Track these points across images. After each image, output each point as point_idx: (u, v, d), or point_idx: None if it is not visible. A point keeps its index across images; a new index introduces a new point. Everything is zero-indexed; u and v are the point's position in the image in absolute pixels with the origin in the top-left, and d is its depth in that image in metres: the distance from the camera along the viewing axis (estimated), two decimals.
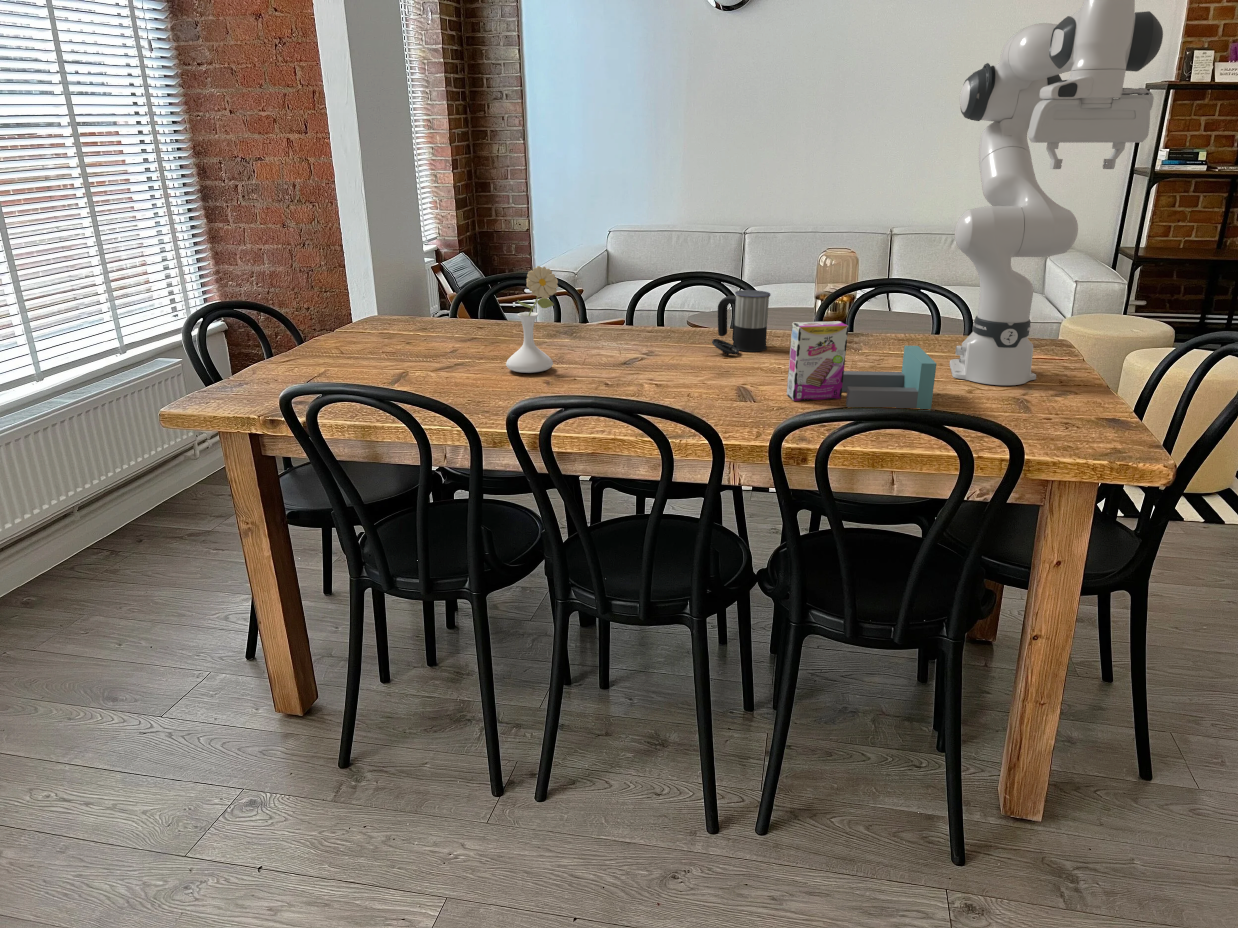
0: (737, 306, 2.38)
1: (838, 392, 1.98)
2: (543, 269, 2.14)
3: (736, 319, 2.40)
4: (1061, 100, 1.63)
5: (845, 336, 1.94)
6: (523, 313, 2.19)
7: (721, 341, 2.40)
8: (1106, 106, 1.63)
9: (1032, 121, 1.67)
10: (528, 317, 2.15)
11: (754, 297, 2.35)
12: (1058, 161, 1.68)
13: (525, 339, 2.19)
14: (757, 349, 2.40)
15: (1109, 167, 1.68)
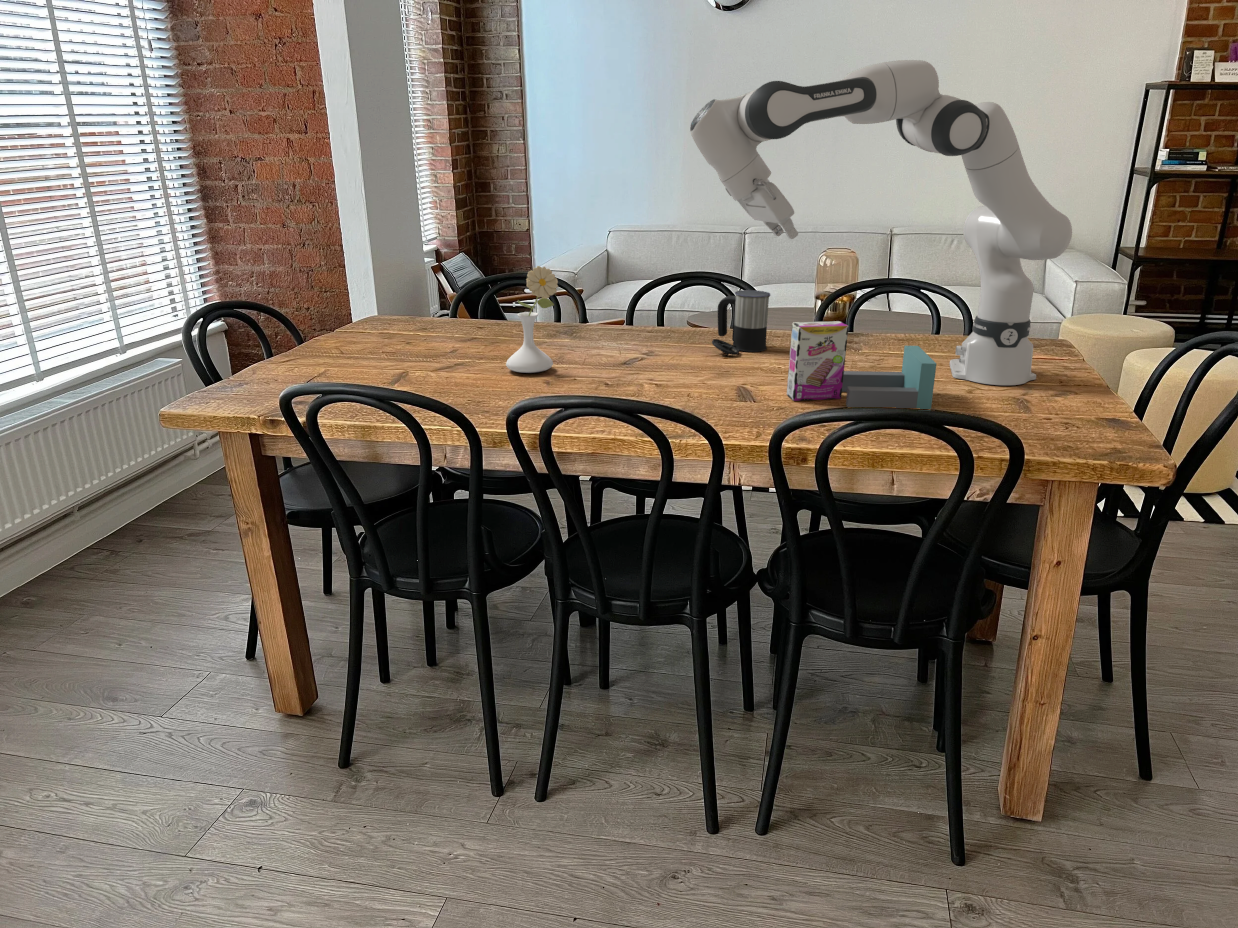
0: (737, 306, 2.38)
1: (838, 392, 1.98)
2: (543, 269, 2.14)
3: (736, 319, 2.40)
4: None
5: (845, 336, 1.94)
6: (523, 313, 2.19)
7: (721, 341, 2.39)
8: (747, 201, 1.81)
9: None
10: (528, 317, 2.15)
11: (754, 297, 2.35)
12: (773, 231, 1.90)
13: (525, 339, 2.19)
14: (757, 349, 2.40)
15: (790, 237, 1.81)
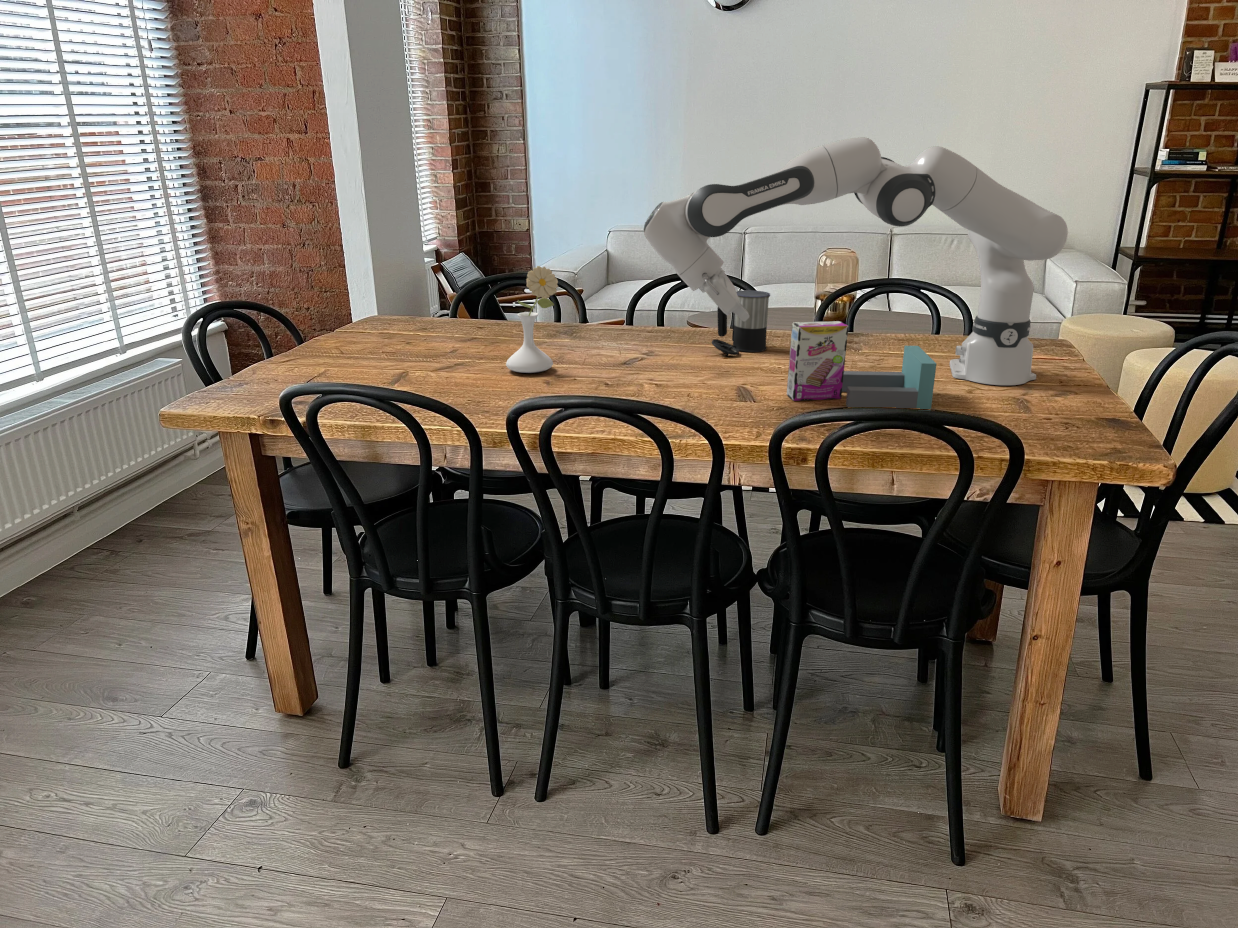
0: None
1: (838, 392, 1.98)
2: (543, 269, 2.14)
3: (736, 319, 2.40)
4: None
5: (845, 336, 1.94)
6: (523, 313, 2.19)
7: (721, 341, 2.39)
8: (703, 291, 1.93)
9: None
10: (528, 317, 2.15)
11: (754, 297, 2.34)
12: None
13: (525, 339, 2.19)
14: (756, 350, 2.39)
15: None
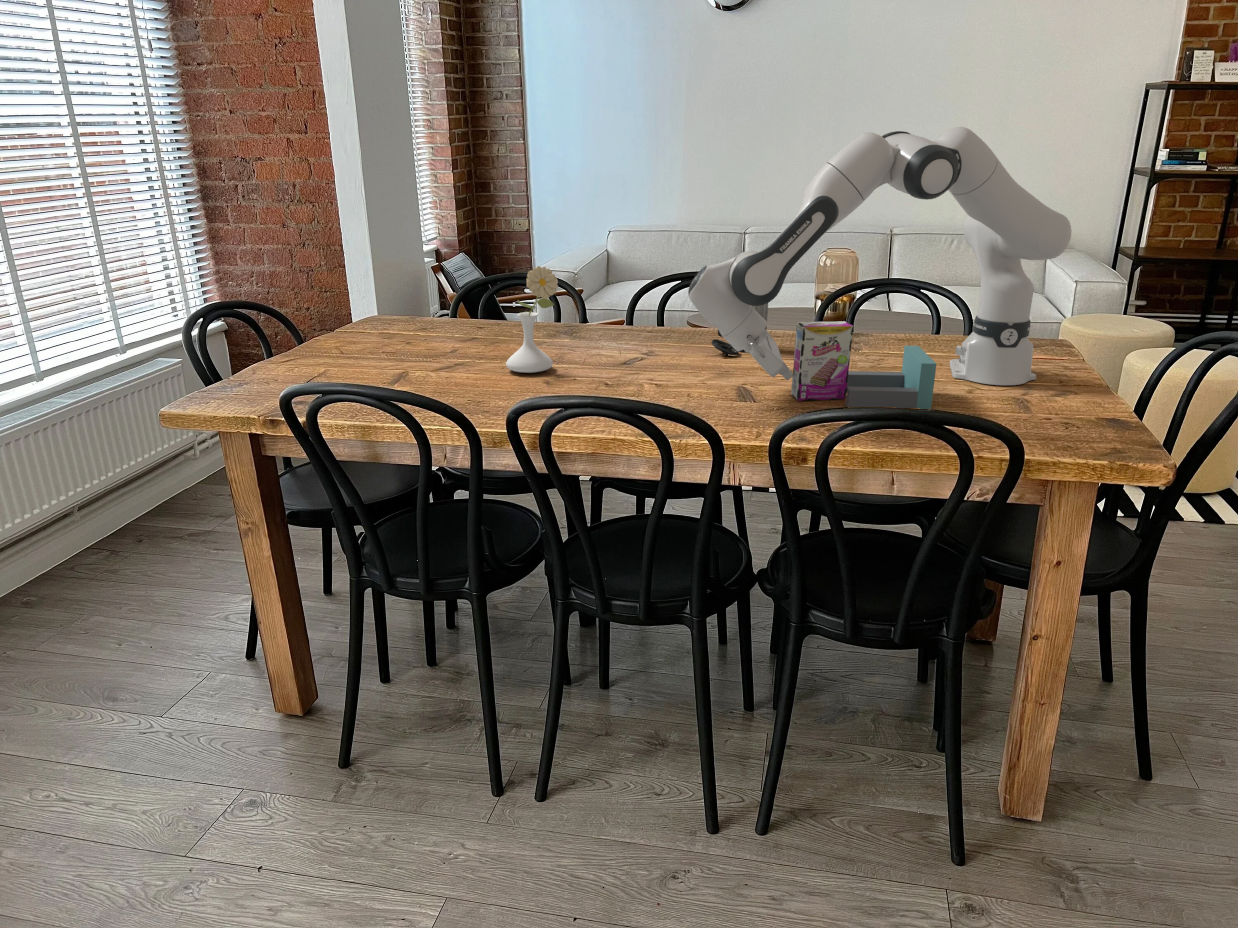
0: None
1: (843, 392, 1.98)
2: (543, 269, 2.14)
3: None
4: None
5: (850, 336, 1.94)
6: (523, 313, 2.19)
7: (721, 341, 2.39)
8: (747, 352, 1.96)
9: None
10: (528, 317, 2.15)
11: None
12: None
13: (525, 339, 2.19)
14: None
15: None
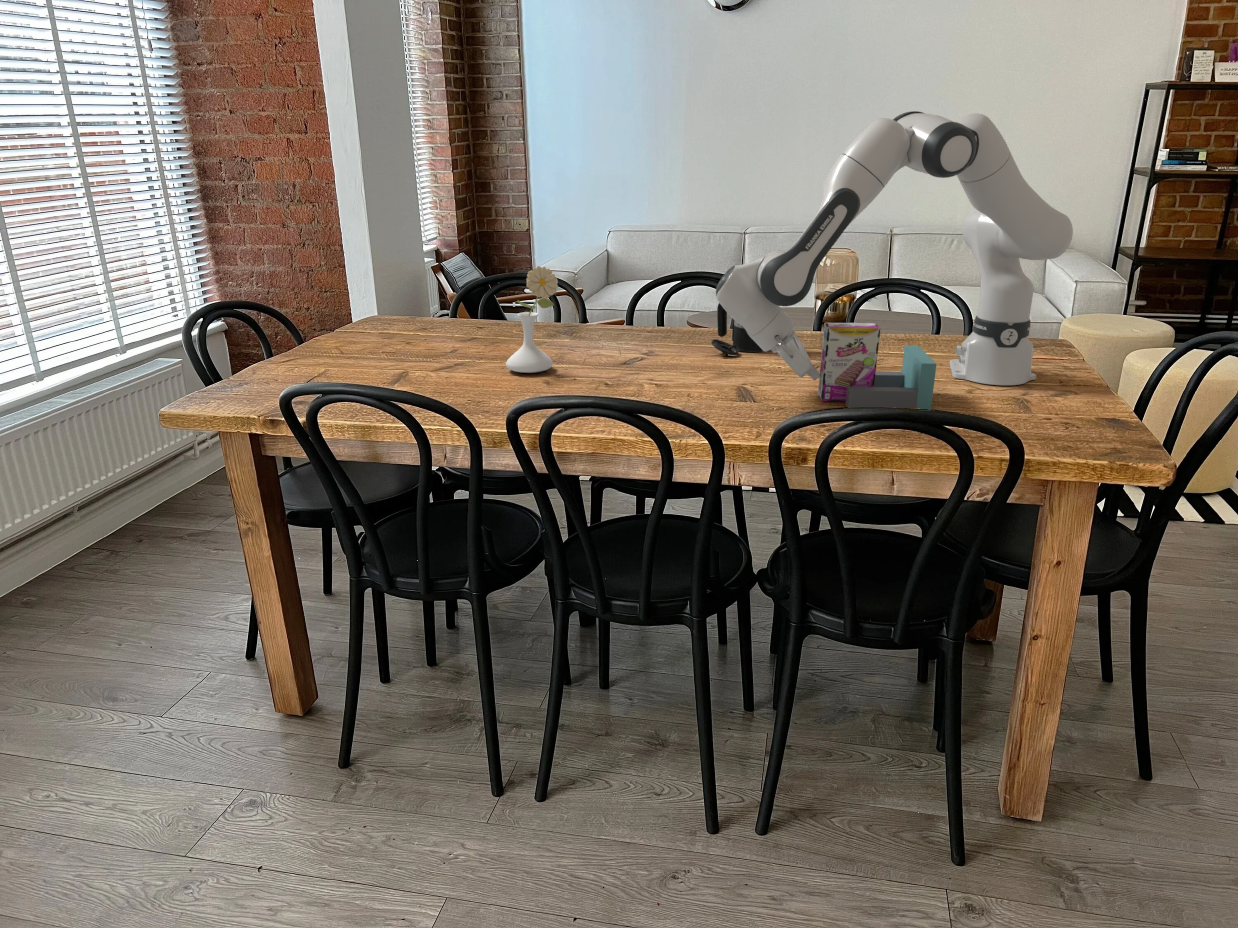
0: None
1: None
2: (543, 269, 2.14)
3: None
4: None
5: (877, 338, 1.91)
6: (523, 313, 2.19)
7: (720, 342, 2.39)
8: (774, 352, 1.96)
9: None
10: (528, 317, 2.15)
11: None
12: None
13: (525, 339, 2.19)
14: (756, 350, 2.39)
15: None
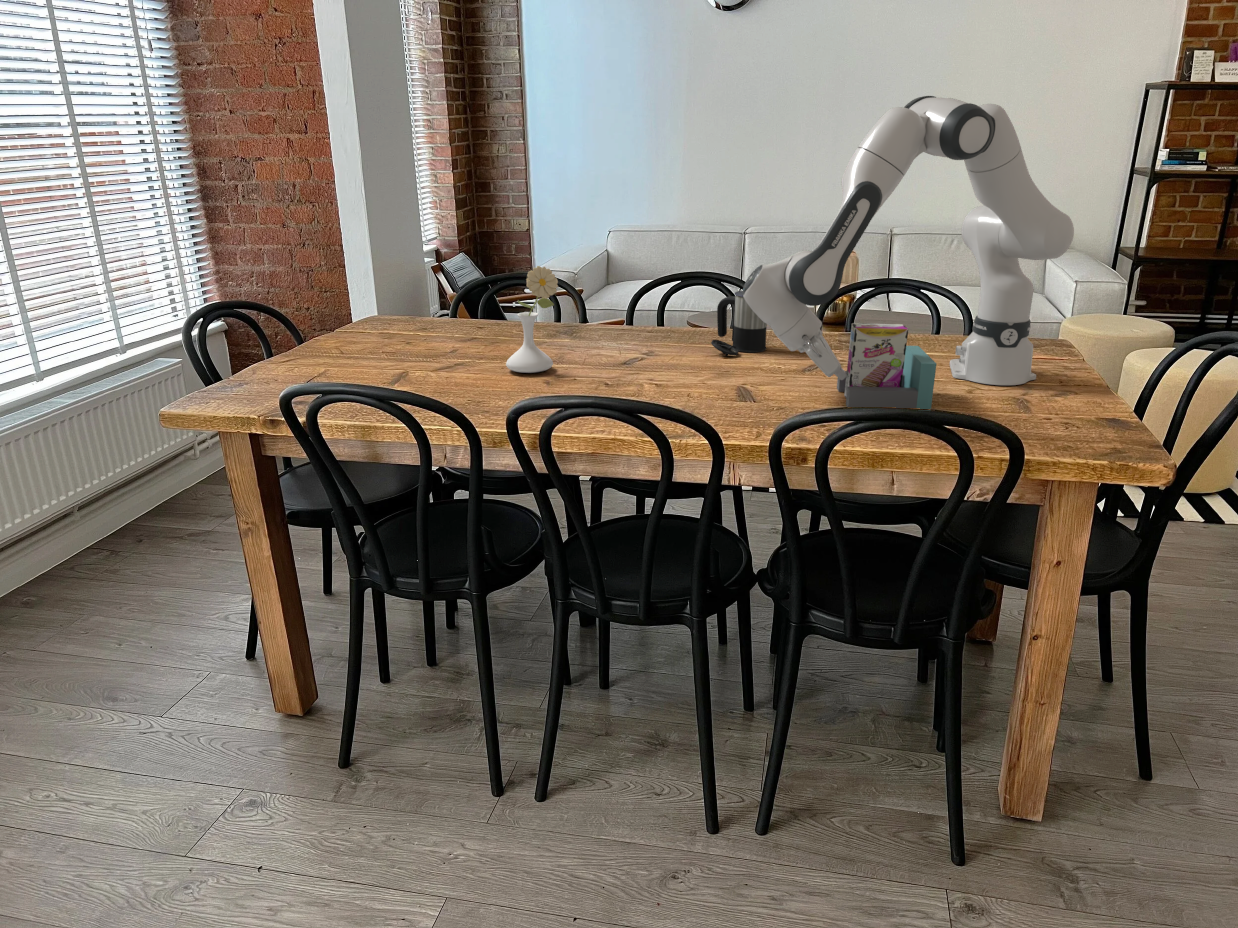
0: (736, 307, 2.38)
1: None
2: (543, 269, 2.14)
3: (735, 320, 2.39)
4: None
5: (904, 339, 1.91)
6: (523, 313, 2.19)
7: (720, 342, 2.39)
8: (801, 352, 1.95)
9: None
10: (528, 317, 2.15)
11: None
12: None
13: (525, 339, 2.19)
14: (756, 350, 2.39)
15: None
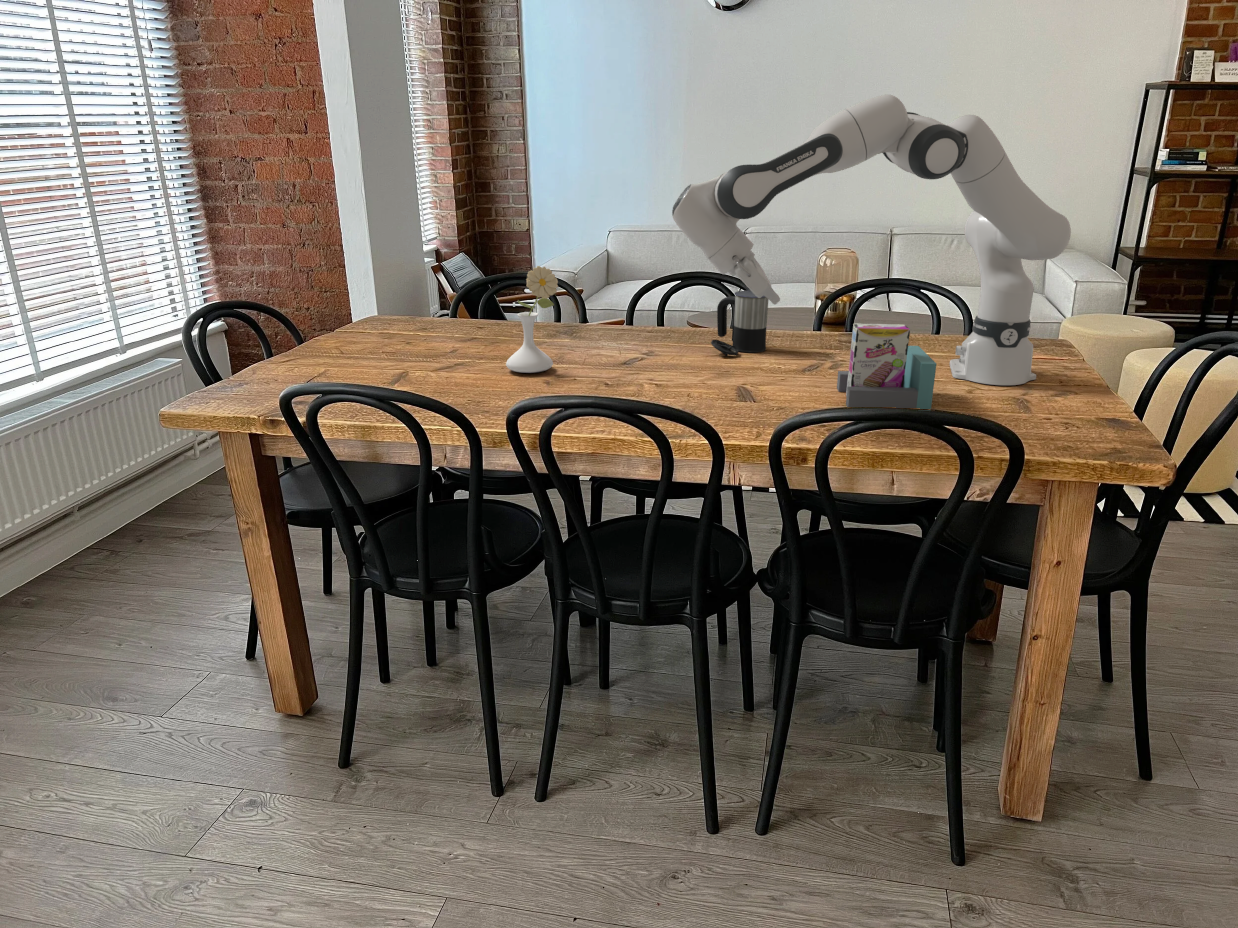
0: (736, 307, 2.38)
1: None
2: (543, 269, 2.14)
3: (735, 320, 2.39)
4: None
5: (906, 340, 1.91)
6: (523, 313, 2.19)
7: (720, 342, 2.39)
8: (733, 275, 1.91)
9: None
10: (528, 317, 2.15)
11: (753, 298, 2.34)
12: None
13: (525, 339, 2.19)
14: (756, 350, 2.39)
15: None
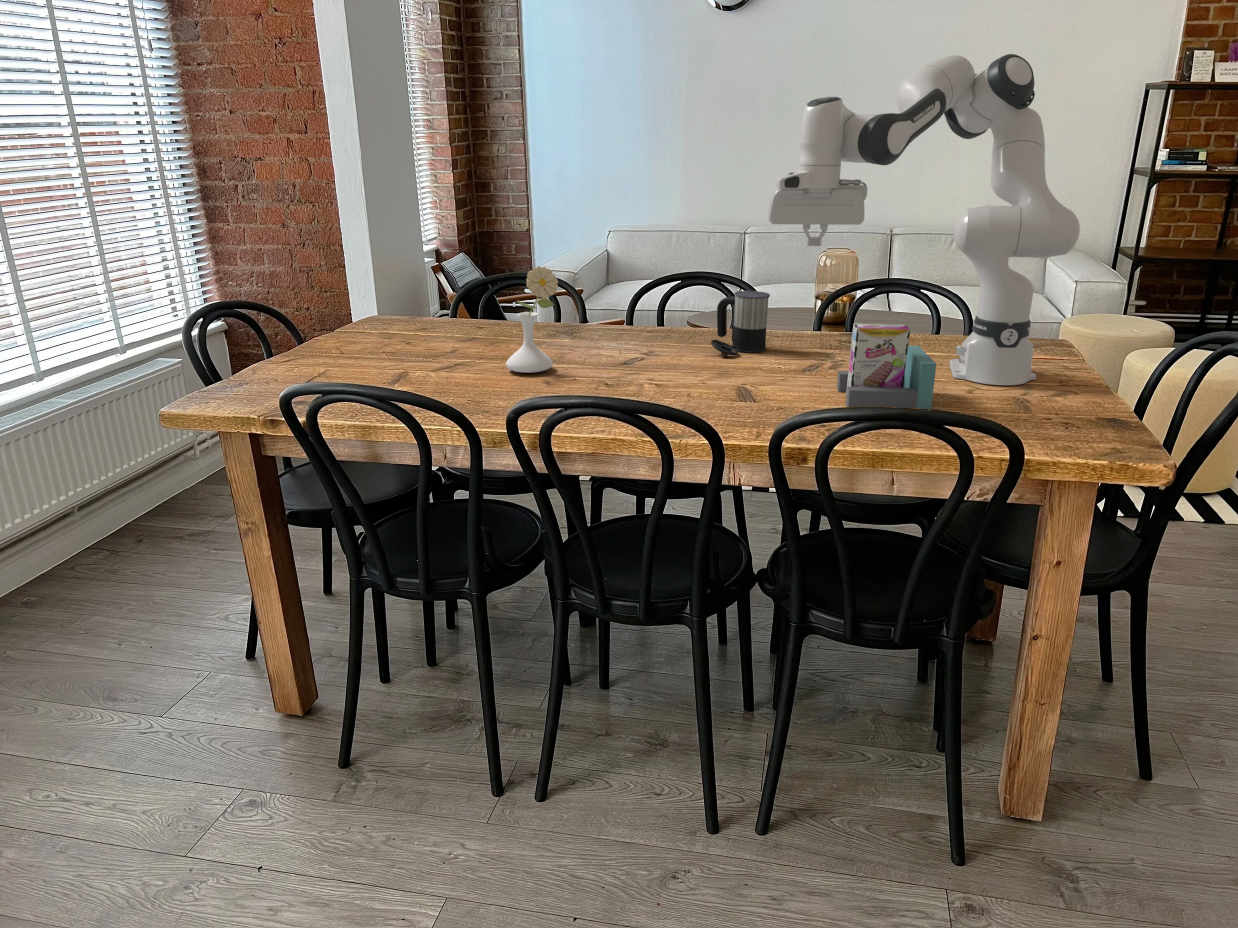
0: (736, 307, 2.37)
1: None
2: (543, 269, 2.14)
3: (735, 320, 2.39)
4: (788, 190, 1.93)
5: (906, 340, 1.91)
6: (523, 313, 2.19)
7: (720, 342, 2.39)
8: (826, 195, 1.93)
9: (770, 206, 1.98)
10: (528, 317, 2.15)
11: (753, 298, 2.34)
12: (811, 239, 1.98)
13: (525, 339, 2.19)
14: (756, 350, 2.39)
15: (817, 244, 1.99)
